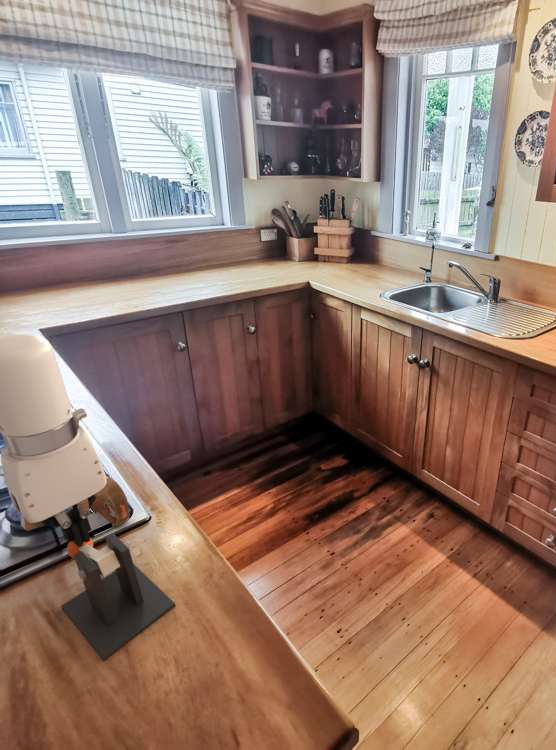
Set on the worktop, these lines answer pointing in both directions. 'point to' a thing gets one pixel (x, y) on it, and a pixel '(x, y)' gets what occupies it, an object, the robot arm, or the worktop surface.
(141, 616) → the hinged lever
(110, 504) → the mottled brown oval slab
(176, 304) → the worktop surface
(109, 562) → the lever with orange knob
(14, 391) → the robot arm
